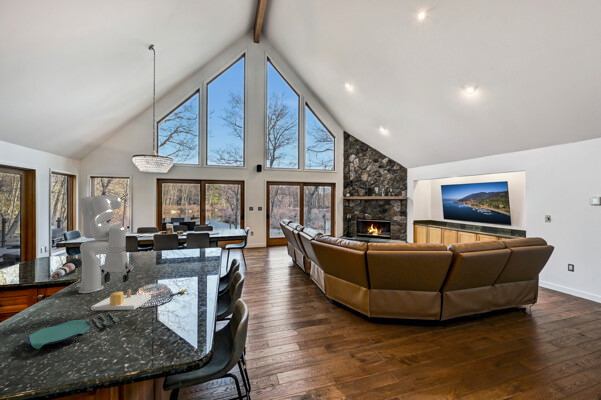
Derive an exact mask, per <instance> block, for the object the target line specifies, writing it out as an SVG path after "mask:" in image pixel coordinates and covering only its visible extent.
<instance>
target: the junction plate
mask: <svg viewBox="0 0 601 400" xmlns="http://www.w3.org/2000/svg"><path fill="white" fill-rule="evenodd" d="M151 299H152V294H132V289H126V294H124V303H123V304H121V305H117V306H110V296H109V297H107V298H105V299H103V300H101V301H99V302H97V303H95V304H93V305H92V306H90V310H91V311H120V310H121V311H123V310H126V311H128V310H136V309H137V308H139V307H140V306H142V305H143V304H144V303H146V302H147V301H149V300H151Z"/></svg>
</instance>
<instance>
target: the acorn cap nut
mask: <svg viewBox="0 0 601 400" xmlns="http://www.w3.org/2000/svg"><path fill="white" fill-rule="evenodd" d="M124 295H125V293H124V291H115V292H112V293H111V292H110V294H109V297H110V306H117V305H121V304H123V303H124Z"/></svg>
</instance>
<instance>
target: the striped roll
mask: <svg viewBox="0 0 601 400" xmlns="http://www.w3.org/2000/svg"><path fill="white" fill-rule="evenodd" d="M81 267H82V259H79V258H72V259H69V260H68V261H66V262H64V263H63V264H62V265H61V267H59V268H58V269H57V270H54V271H53V272H52V276H51V278H52V279H56V278H57V277H60V276H62V277H63V276H64V275H66V274H68V273H70V272H72V271H73V270H75V269H79V268H81Z"/></svg>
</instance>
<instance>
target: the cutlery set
mask: <svg viewBox="0 0 601 400" xmlns="http://www.w3.org/2000/svg"><path fill="white" fill-rule="evenodd" d="M108 315H109V316H110V317H111V318H112V320H111V319H109V320H108V319H106V318H105V316H104V315H103V314H99V317H101V318H102V319H103V320H104V321H103V323H102V324H103V325H105V326H108V325H111V324H112V323H113V322H115V323H120V322H121V320H120V319H119V318H118V316H114V315H113V314H112V312H110V311H109V312H108ZM91 319H92V320H93V321H94V324H95V325H96V326H97V328H102V325H101V324H100V323H99V320H98V319H95V317H93V316H92V317H91ZM90 327H91V322H89V321H86V320H85V319H76V320H70V321H67V322H61V323H57V324H55V325H51V326H47V327H45V328H40V329H38V330H36V331H35V332H33V333H30V334H29V335H28V337H27V338H26V340H25V343H26V344H27V345H28V346H29V345H30V346H31V347H33V348H34V349H37V350H40V349H41V348H42V347H43V346H45V345H52V344H55V343H60V342H64V341H67V340H69V339H72V338H75V337H78V336H79V335H81V334H82V335H83V334H85V333H86V332H88V331H89V330H90Z"/></svg>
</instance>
